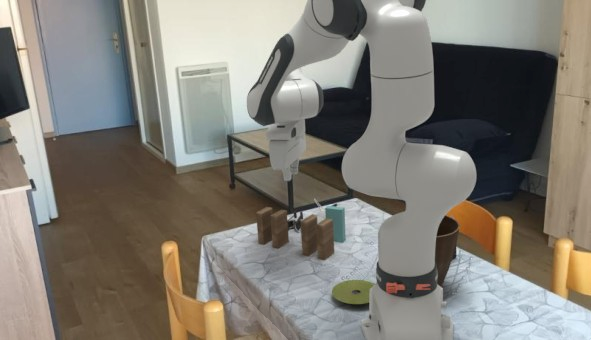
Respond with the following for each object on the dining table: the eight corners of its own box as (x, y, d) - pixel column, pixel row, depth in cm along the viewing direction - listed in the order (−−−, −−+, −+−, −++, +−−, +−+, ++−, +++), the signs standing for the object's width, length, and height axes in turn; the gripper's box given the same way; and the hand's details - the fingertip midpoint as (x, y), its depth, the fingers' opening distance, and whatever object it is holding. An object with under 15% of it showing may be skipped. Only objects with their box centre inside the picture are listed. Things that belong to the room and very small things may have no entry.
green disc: (346, 282, 138) (345, 275, 137) (389, 293, 132) (389, 285, 132) (322, 304, 129) (322, 296, 128) (368, 316, 123) (368, 308, 123)
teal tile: (329, 238, 164) (327, 205, 162) (345, 240, 162) (344, 207, 160) (326, 241, 163) (325, 208, 160) (343, 243, 161) (341, 209, 158)
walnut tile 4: (318, 250, 157) (317, 216, 154) (308, 257, 153) (306, 222, 150) (312, 249, 158) (310, 215, 155) (302, 255, 154) (300, 221, 151)
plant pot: (465, 279, 136) (467, 216, 132) (447, 309, 124) (448, 240, 120) (405, 268, 144) (405, 208, 139) (382, 294, 131) (381, 230, 127)
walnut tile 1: (274, 240, 165) (272, 207, 162) (264, 246, 161) (261, 213, 159) (269, 239, 166) (266, 206, 164) (258, 245, 163) (256, 212, 160)
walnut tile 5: (334, 254, 154) (333, 219, 151) (324, 261, 150) (322, 225, 147) (328, 252, 155) (326, 218, 152) (318, 259, 151) (316, 224, 149)
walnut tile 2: (288, 243, 163) (286, 210, 160) (278, 250, 159) (276, 216, 156) (283, 242, 164) (281, 209, 161) (272, 248, 160) (270, 215, 157)
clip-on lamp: (314, 213, 185) (283, 233, 171) (313, 194, 184) (281, 214, 170) (346, 217, 179) (316, 239, 165) (345, 198, 177) (314, 218, 163)
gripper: (288, 118, 159) (291, 165, 163) (263, 134, 140) (267, 188, 144) (310, 118, 157) (312, 166, 161) (288, 135, 138) (291, 189, 142)
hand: (291, 177), depth 152 cm, fingers open, 4 cm apart
